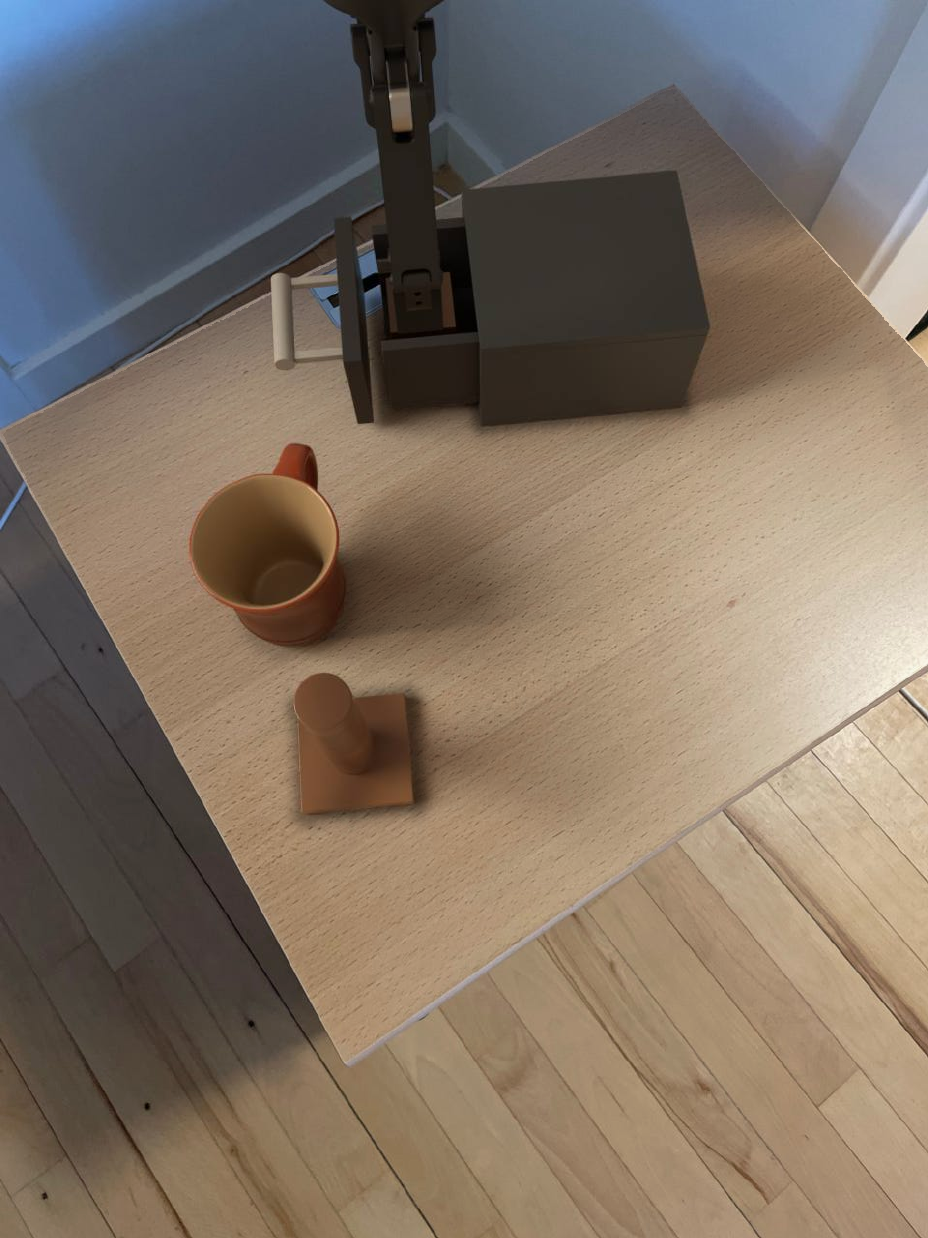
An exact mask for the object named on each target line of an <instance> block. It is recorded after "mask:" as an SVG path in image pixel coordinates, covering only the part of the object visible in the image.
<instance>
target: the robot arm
mask: <svg viewBox="0 0 928 1238" xmlns="http://www.w3.org/2000/svg"><path fill="white" fill-rule="evenodd" d="M322 1H323V2H324V3H325V4H327V5H328V6H330V7H332V8H333V9H335V10H336V11H339V12H341V13H342V14H346V15H348V16H350V18H351V19H355V20H356V23H350V24H349V32H350V41H351V50H352V58H353V60H354V61H353V62H354V63H355V65H356V66H357V67H358V68H359V73H360V81H361V82H360V83H361V90H362V101H363V109H364V118H365V121H366V123H367V124H368V126H370V127H371V128H373V129H374V130H375V135H376V141H377V151H378V159H379V169H380V178H381V186H382V196H383V205H384V213H385V214H384V216H385V222H386V223H385V224H387V233H388V242H389V249H388V258H385V259H377V264H376V270H377V274H378V273H388V272H390V275H391V276H390V285H391V286H392V291H393V299H394V306H395V314H396V322H397V330H398V334H402V333H413V332H424V331H435V330H443V313H442V294H441V286H442V281H443V271H441V269H440V251H439V248H438V239H437V225H436V220H437V214H436V201H435V187H434V174H433V160H432V159H433V158H432V149H431V147H432V146H431V135H430V134H431V133H430V123H432V122H433V121H434V120H435V117H436V112H437V111H436V110H437V109H436V97H435V84H434V69H433V62H434V59H435V57H436V55H437V41H436V28H435V27H436V26H435V18H434V16H429V17H426V14H427V13H428V12H430V11H431V10H432V9H433V8H435V7H437V6H438V5H440V4H441V3H442V2H444V1H445V0H322ZM420 79H421V81H420Z"/></svg>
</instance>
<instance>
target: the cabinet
mask: <svg viewBox="0 0 928 1238" xmlns="http://www.w3.org/2000/svg"><path fill="white" fill-rule="evenodd" d="M461 217H464V220H465V229H466V237H467V245H468V254H469V262H470V270H471V279H472V287H473V295H474V303H475V312H476V320H477V328H478V337H479V345H480V402H477V404H478V413H479V414H478V415H479V421H480V422H479V423H480V427H488V426H490V427H491V426H501V425H502V426H503V425H510V424H522V423H523V424H524V423H531V422H541V421H542V422H543V421H552V420H553V421H554V420H563V419H573V418H584V417H585V418H586V417H595V416H606V415H617V414H625V413H637V412H649V411H657V410H668V409H680V408H682V406H683V405H684V402H685V399H686V396H687V393H688V390H689V387H690V384H691V382H692V379H693V376H694V373H695V371H696V368H697V365H698V362H699V359H700V357H701V355H702V351H703V349H704V345H705V343H706V340H707V338H708V334H709V332H710V329H711V325H710V320H709V315H708V311H707V306H706V300H705V296H704V292H703V286H702V281H701V277H700V273H699V268H698V263H697V258H696V254H695V249H694V243H693V240H692V239H693V238H692V235H691V230H690V226H689V220H688V216H687V210H686V207H685V202H684V198H683V192H682V187H681V183H680V178H679V173H678V170H677V169H674V170H673V169H672V170H662V171H654V172H653V171H652V172H641V173H640V172H639V173H630V174H620V175H619V174H618V175H609V176H607V175H606V176H597V177H588V178H587V177H586V178H576V179H563V180H554V181H544V182H543V181H542V182H532V183H521V184H520V183H519V184H509V185H499V186H489V187H487V186H486V187H477V188H476V187H475V188H466V189H461Z"/></svg>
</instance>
